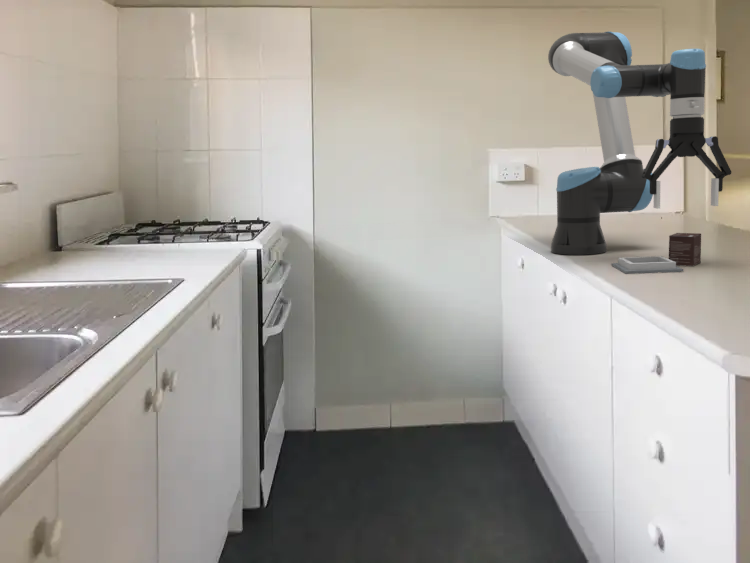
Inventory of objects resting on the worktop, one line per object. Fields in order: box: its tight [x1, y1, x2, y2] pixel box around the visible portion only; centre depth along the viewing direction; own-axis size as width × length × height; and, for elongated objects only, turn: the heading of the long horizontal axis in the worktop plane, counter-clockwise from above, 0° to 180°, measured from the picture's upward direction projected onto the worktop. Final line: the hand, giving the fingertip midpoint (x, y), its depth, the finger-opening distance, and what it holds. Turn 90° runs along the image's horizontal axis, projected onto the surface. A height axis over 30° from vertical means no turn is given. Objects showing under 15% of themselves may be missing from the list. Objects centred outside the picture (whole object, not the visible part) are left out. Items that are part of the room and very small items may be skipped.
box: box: [668, 232, 702, 267], centre depth 186 cm, size 6×6×7 cm
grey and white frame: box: [611, 255, 684, 275], centre depth 182 cm, size 13×13×2 cm
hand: (685, 207), depth 184 cm, fingers open, 13 cm apart
